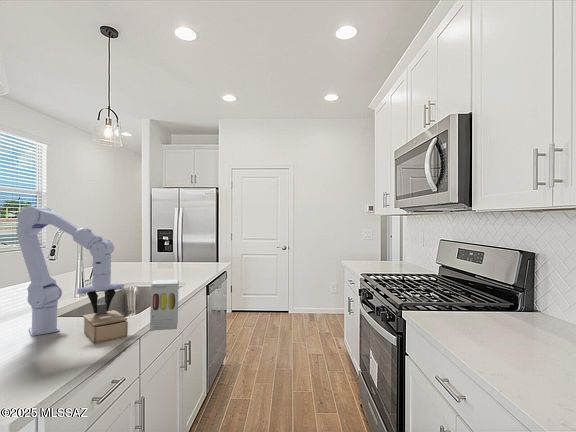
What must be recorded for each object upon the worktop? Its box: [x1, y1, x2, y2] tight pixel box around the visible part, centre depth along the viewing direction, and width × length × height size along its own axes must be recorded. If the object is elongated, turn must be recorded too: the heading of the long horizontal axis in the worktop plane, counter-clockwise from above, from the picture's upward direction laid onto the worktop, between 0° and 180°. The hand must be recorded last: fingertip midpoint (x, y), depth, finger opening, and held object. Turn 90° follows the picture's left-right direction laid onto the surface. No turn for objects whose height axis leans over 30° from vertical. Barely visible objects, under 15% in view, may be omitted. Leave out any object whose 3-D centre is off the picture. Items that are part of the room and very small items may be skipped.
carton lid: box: [82, 302, 128, 326], centre depth 116 cm, size 14×10×4 cm
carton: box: [83, 318, 129, 345], centre depth 115 cm, size 14×10×5 cm
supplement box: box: [149, 278, 180, 332], centre depth 125 cm, size 10×9×17 cm
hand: (100, 311), depth 120 cm, fingers closed on carton lid, 3 cm apart
